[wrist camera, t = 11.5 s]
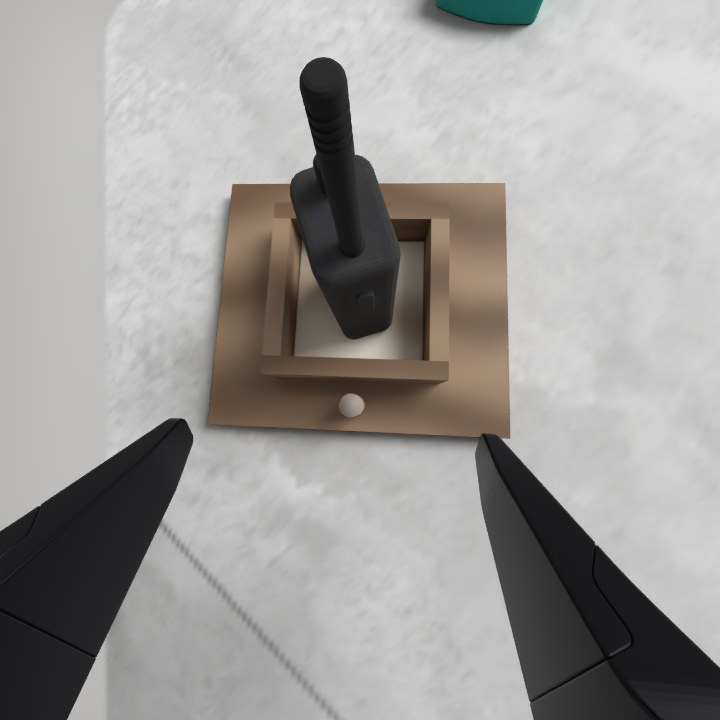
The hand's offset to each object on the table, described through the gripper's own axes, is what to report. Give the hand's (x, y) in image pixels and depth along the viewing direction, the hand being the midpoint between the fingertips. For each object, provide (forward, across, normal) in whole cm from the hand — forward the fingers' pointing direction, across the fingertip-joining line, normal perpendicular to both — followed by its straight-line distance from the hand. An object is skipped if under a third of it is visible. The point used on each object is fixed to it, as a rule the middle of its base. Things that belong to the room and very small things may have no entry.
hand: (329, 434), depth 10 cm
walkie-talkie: (+12, 0, +2) cm, 12 cm away
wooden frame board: (+13, 0, +2) cm, 13 cm away
